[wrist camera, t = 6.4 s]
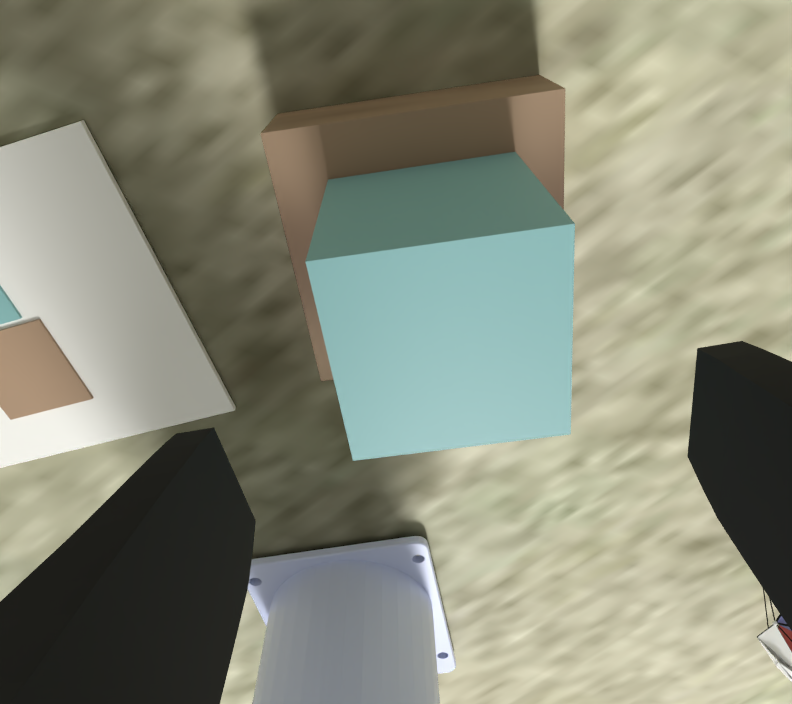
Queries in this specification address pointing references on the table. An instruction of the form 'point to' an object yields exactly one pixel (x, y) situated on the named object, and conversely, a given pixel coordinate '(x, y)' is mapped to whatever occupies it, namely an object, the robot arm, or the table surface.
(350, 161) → the brown block
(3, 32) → the table surface
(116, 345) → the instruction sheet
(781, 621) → the geometric puzzle
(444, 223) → the teal brick
